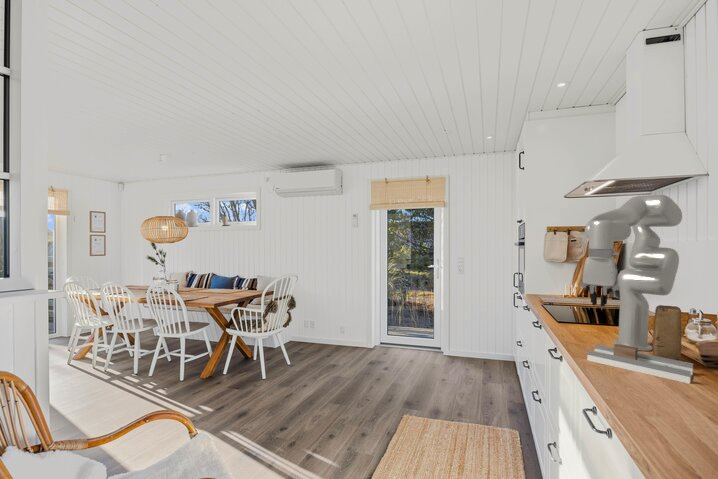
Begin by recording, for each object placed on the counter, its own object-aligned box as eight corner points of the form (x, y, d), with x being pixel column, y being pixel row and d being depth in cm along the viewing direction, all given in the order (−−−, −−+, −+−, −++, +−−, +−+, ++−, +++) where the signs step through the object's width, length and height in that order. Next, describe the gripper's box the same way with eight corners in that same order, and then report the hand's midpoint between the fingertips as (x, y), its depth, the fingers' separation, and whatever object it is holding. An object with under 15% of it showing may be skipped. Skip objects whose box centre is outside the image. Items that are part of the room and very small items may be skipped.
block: (680, 369, 124) (683, 310, 124) (652, 364, 129) (654, 306, 128) (678, 361, 132) (681, 305, 132) (652, 356, 137) (654, 303, 137)
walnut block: (616, 354, 131) (616, 343, 131) (637, 359, 127) (637, 347, 127) (613, 357, 128) (613, 346, 128) (634, 362, 123) (635, 350, 123)
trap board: (596, 353, 139) (596, 344, 139) (692, 374, 120) (693, 363, 120) (587, 360, 130) (587, 350, 130) (689, 383, 111) (690, 372, 111)
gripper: (629, 255, 130) (627, 307, 130) (578, 253, 141) (576, 301, 142) (625, 255, 125) (623, 310, 125) (572, 253, 136) (570, 303, 136)
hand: (598, 305), depth 133 cm, fingers closed
